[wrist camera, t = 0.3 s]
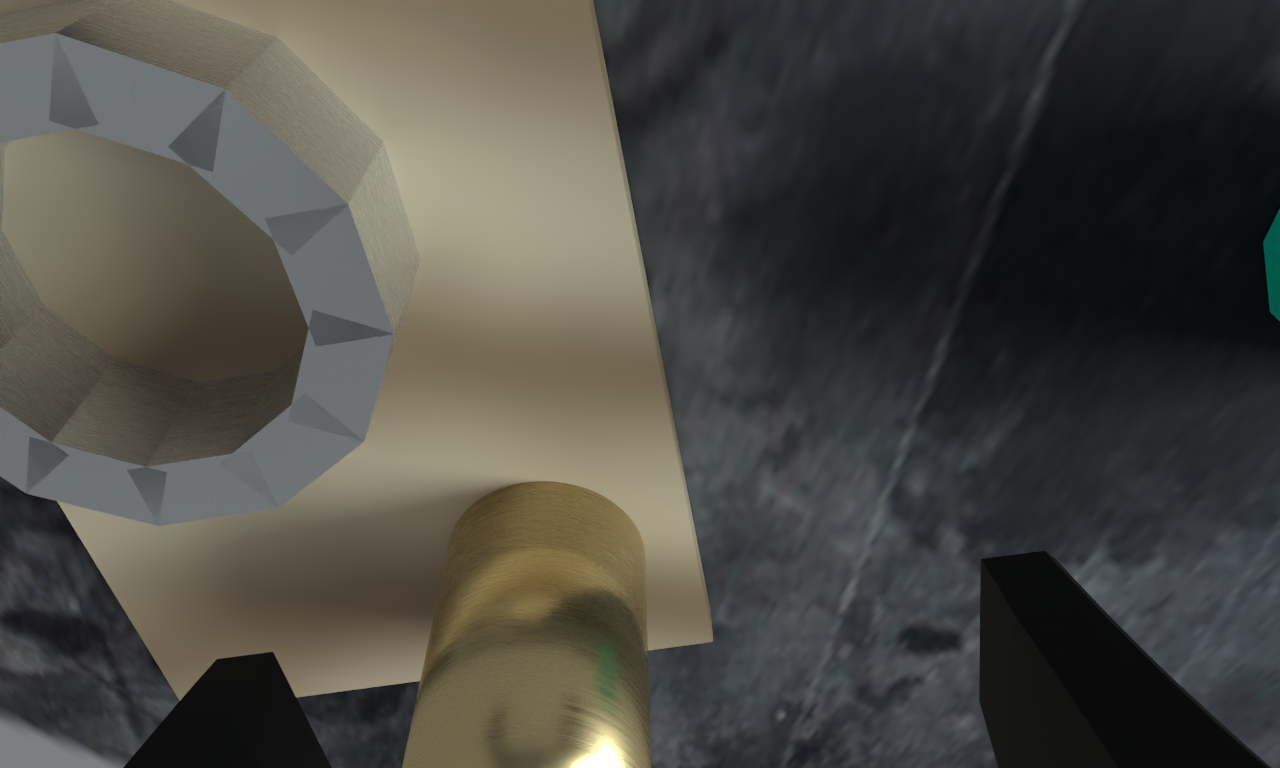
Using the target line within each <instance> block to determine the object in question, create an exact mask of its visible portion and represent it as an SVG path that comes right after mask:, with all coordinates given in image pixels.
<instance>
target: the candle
mask: <svg viewBox="0 0 1280 768" xmlns="http://www.w3.org/2000/svg"><path fill="white" fill-rule="evenodd" d="M1263 247H1264V257H1265V268H1266V278H1267V288H1268V298H1269V308H1270V313H1271V314H1272V315H1274V316H1275V317H1276V318H1277V319H1278V320H1279V321H1280V209H1279V211H1278V213H1277V215H1276V217H1275V219H1274V221H1273V223H1272V225H1271V227H1270V229H1269V231H1268V233H1267V235H1266V237H1265V239H1264V241H1263Z"/></svg>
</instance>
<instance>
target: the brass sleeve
mask: <svg viewBox="0 0 1280 768" xmlns="http://www.w3.org/2000/svg"><path fill="white" fill-rule="evenodd" d="M402 768H651V745H650V708H649V671H648V633H647V596H646V559H645V548H644V543H643V540H642V537H641V535H640V533H639V531H638V529H637V527H636V525H635V524H634V522H633V521H632V520H631V518H630V517H629V516H628V515H627V514H626V513H625V512H624V511H623V510H622V509H621V508H620V507H619V506H617V505H616V504H615V503H614V502H612V501H611V500H609V499H607V498H606V497H604V496H602V495H600V494H598V493H596V492H594V491H592V490H589V489H586V488H583V487H580V486H577V485H572V484H567V483H561V482H552V481H535V482H524V483H519V484H515V485H510V486H507V487H504V488H501V489H498V490H496V491H494V492H492V493H489V494H487V495H486V496H484V497H482V498H481V499H479V500H478V501H476V502H475V503H474V504H473V505H471V506H470V507H469V508H468V509H467V510H466V511H465V512H464V513H463V515H462V516H461V517H460V518H459V520H458V521H457V523H456V524H455V527H454V529H453V531H452V533H451V537H450V541H449V545H448V550H447V554H446V559H445V564H444V569H443V574H442V579H441V583H440V588H439V593H438V598H437V603H436V607H435V612H434V617H433V622H432V627H431V631H430V636H429V641H428V646H427V651H426V656H425V660H424V665H423V670H422V675H421V680H420V684H419V689H418V694H417V699H416V704H415V709H414V713H413V718H412V723H411V728H410V733H409V737H408V742H407V747H406V752H405V757H404V762H403V766H402Z"/></svg>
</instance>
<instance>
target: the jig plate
mask: <svg viewBox="0 0 1280 768" xmlns="http://www.w3.org/2000/svg"><path fill="white" fill-rule="evenodd" d="M63 1H68V0H0V14H1V13H7V12H12V11H17V10H22V9H27V8H32V7H37V6H43V5H48V4H53V3H58V2H63ZM171 1H173V2H176V3H179V4H182V5H185V6H188V7H191V8H194V9H197V10H200V11H203V12H206V13H208V14H211V15H214V16H217V17H220V18H223V19H226V20H229V21H232V22H235V23H238V24H240V25H243V26H246V27H249V28H252V29H255V30H258V31H261V32H264V33H267V34H270V35H272V36H275V37H279V38H280V39H281V40H282V41H283V42H284V43H285V44H286V45H287V46H288V47H289V48H290V49H291V50H292V51H293V52H294V53H295V54H296V55H297V56H298V57H299V58H300V59H301V60H302V61H303V62H304V63H305V64H306V65H307V66H308V67H309V68H310V69H311V70H312V71H313V72H314V73H315V74H316V75H317V76H318V77H319V78H320V79H321V80H322V81H323V82H324V83H325V84H326V85H327V86H328V87H329V88H330V89H331V90H332V91H333V92H334V93H335V94H336V95H337V96H338V97H339V98H340V99H341V100H342V101H343V102H344V103H345V104H346V105H347V106H348V107H349V108H350V109H351V110H352V111H353V112H354V113H355V114H356V115H357V116H358V117H359V118H360V119H361V120H362V121H364V122H365V123H366V124H367V125H368V126H369V127H370V128H371V129H372V130H373V131H374V132H375V133H376V134H377V135H378V136H379V137H380V138H381V139H382V140H383V142H384V145H385V148H386V151H387V154H388V157H389V161H390V164H391V167H392V170H393V173H394V176H395V179H396V182H397V185H398V189H399V192H400V195H401V198H402V201H403V204H404V207H405V210H406V214H407V217H408V220H409V223H410V226H411V229H412V232H413V235H414V239H415V242H416V245H417V248H418V251H419V254H420V257H421V261H420V265H419V268H418V272H417V276H416V279H415V283H414V286H413V290H412V294H411V297H410V301H409V304H408V308H407V312H406V315H405V319H404V322H403V326H402V330H401V333H400V337H399V340H398V344H397V348H396V351H395V355H394V358H393V362H392V365H391V367H390V370H389V373H388V376H387V379H386V382H385V384H384V387H383V390H382V393H381V396H380V399H379V401H378V404H377V407H376V410H375V413H374V416H373V418H372V421H371V424H370V427H369V430H368V433H367V435H366V438H365V441H364V442H363V443H362V444H360V445H359V446H358V447H357V448H355V449H354V450H353V451H351V452H350V453H349V454H348V455H346V456H345V457H344V458H342V459H341V460H340V461H339V462H337V463H336V464H335V465H333V466H332V467H331V468H330V469H328V470H327V471H326V472H324V473H323V474H322V475H321V476H319V477H318V478H317V479H315V480H314V481H313V482H312V483H310V484H309V485H308V486H306V487H305V488H304V489H303V490H301V491H300V492H299V493H297V494H296V495H295V496H294V497H292V498H291V499H290V500H288V501H287V502H286V503H285V504H283V505H282V506H281V507H279V508H277V509H270V510H263V511H257V512H250V513H243V514H237V515H230V516H223V517H217V518H210V519H203V520H196V521H190V522H183V523H176V524H170V525H163V526H156V525H152V524H148V523H144V522H140V521H136V520H132V519H127V518H123V517H119V516H115V515H111V514H107V513H103V512H99V511H95V510H91V509H87V508H83V507H79V506H75V505H71V504H67V503H63V502H59V501H57V502H58V504H59V505H60V507H61V508H62V510H63V512H64V513H65V515H66V517H67V518H68V520H69V521H70V523H71V525H72V526H73V528H74V530H75V531H76V533H77V534H78V536H79V538H80V539H81V541H82V543H83V544H84V546H85V547H86V549H87V551H88V552H89V554H90V556H91V557H92V559H93V560H94V562H95V564H96V565H97V567H98V569H99V570H100V572H101V573H102V575H103V577H104V578H105V580H106V582H107V583H108V585H109V586H110V588H111V590H112V591H113V593H114V595H115V596H116V598H117V599H118V601H119V603H120V604H121V606H122V608H123V609H124V611H125V612H126V614H127V616H128V617H129V619H130V621H131V622H132V624H133V625H134V627H135V629H136V630H137V632H138V634H139V635H140V637H141V638H142V640H143V642H144V643H145V645H146V647H147V648H148V650H149V651H150V653H151V655H152V656H153V658H154V660H155V661H156V663H157V664H158V666H159V668H160V669H161V671H162V673H163V674H164V676H165V677H166V679H167V681H168V682H169V684H170V686H171V687H172V689H173V691H174V692H175V694H176V695H177V697H178V699H179V700H181V699H182V698H183V697H184V696H185V694H186V693H187V692H188V691H189V690H190V689H191V687H192V686H193V685H194V684H195V683H196V682H197V681H198V679H199V678H200V677H201V676H202V675H203V674H204V673H205V672H206V671H207V669H208V668H209V667H210V666H211V665H212V664H213V663H214V662H215V661H216V659H221V658H229V657H236V656H244V655H252V654H259V653H267V652H273V653H274V655H275V657H276V659H277V661H278V663H279V665H280V667H281V669H282V671H283V673H284V675H285V677H286V678H287V680H288V682H289V684H290V686H291V688H292V690H293V692H294V694H295V696H296V697H303V696H310V695H318V694H325V693H333V692H340V691H348V690H355V689H363V688H370V687H378V686H385V685H393V684H400V683H408V682H415V681H420V680H421V675H422V670H423V665H424V660H425V656H426V651H427V646H428V641H429V636H430V631H431V627H432V622H433V617H434V612H435V607H436V603H437V598H438V593H439V588H440V583H441V579H442V574H443V569H444V564H445V559H446V554H447V550H448V545H449V541H450V537H451V533H452V531H453V529H454V527H455V524H456V523H457V521H458V520H459V518H460V517H461V516H462V515H463V513H464V512H465V511H466V510H467V509H468V508H469V507H470V506H471V505H473V504H474V503H475V502H476V501H478V500H479V499H481V498H482V497H484V496H486V495H487V494H489V493H492V492H494V491H496V490H498V489H501V488H504V487H507V486H510V485H515V484H519V483H524V482H535V481H552V482H561V483H567V484H572V485H577V486H580V487H583V488H586V489H589V490H592V491H594V492H596V493H598V494H600V495H602V496H604V497H606V498H607V499H609V500H611V501H612V502H614V503H615V504H616V505H617V506H619V507H620V508H621V509H622V510H623V511H624V512H625V513H626V514H627V515H628V516H629V517H630V518H631V520H632V521H633V522H634V524H635V525H636V527H637V529H638V531H639V533H640V535H641V537H642V540H643V543H644V548H645V559H646V596H647V633H648V650H655V649H663V648H670V647H678V646H685V645H693V644H700V643H708V642H713V634H712V624H711V613H710V606H709V600H708V595H707V590H706V585H705V580H704V574H703V569H702V564H701V559H700V554H699V548H698V543H697V538H696V533H695V528H694V523H693V517H692V512H691V507H690V502H689V497H688V491H687V486H686V481H685V476H684V471H683V465H682V460H681V455H680V450H679V445H678V439H677V434H676V429H675V424H674V419H673V413H672V408H671V403H670V398H669V393H668V388H667V382H666V377H665V372H664V367H663V362H662V356H661V351H660V346H659V341H658V336H657V330H656V325H655V320H654V315H653V310H652V304H651V299H650V294H649V289H648V284H647V278H646V273H645V268H644V263H643V258H642V253H641V247H640V242H639V237H638V232H637V227H636V221H635V216H634V211H633V206H632V201H631V195H630V190H629V185H628V180H627V175H626V169H625V164H624V159H623V154H622V149H621V144H620V138H619V133H618V128H617V123H616V118H615V112H614V107H613V102H612V97H611V92H610V86H609V81H608V76H607V71H606V66H605V60H604V55H603V50H602V45H601V40H600V34H599V29H598V24H597V19H596V14H595V9H594V3H593V0H171ZM2 230H3V232H4V233H5V235H6V237H7V239H8V241H9V243H10V244H11V246H12V248H13V250H14V252H15V253H16V255H17V257H18V259H19V261H20V262H21V264H22V266H23V268H24V270H25V272H26V273H27V275H28V277H29V279H30V281H31V282H32V284H33V286H34V288H35V290H36V291H37V293H38V295H39V297H40V299H41V301H42V302H43V304H44V305H45V306H46V307H47V308H49V309H50V310H51V311H53V312H54V313H55V314H57V315H58V316H59V317H61V318H62V319H63V320H64V321H66V322H67V323H68V324H70V325H71V326H72V327H74V328H75V329H76V330H78V331H79V332H80V333H82V334H83V335H84V336H86V337H87V338H88V339H89V340H91V341H92V342H93V343H95V344H96V345H97V346H99V347H100V348H101V349H103V350H104V351H105V352H107V353H108V354H109V355H110V356H112V357H113V358H114V359H116V360H119V361H123V362H127V363H130V364H134V365H137V366H141V367H145V368H148V369H152V370H156V371H159V372H163V373H167V374H170V375H174V376H177V377H181V378H185V379H188V380H192V381H196V382H205V381H211V380H218V379H224V378H230V377H236V376H242V375H249V374H255V373H261V372H267V371H274V370H277V369H278V368H279V367H280V366H281V365H283V364H284V363H285V362H286V361H287V360H288V359H290V358H291V357H292V356H293V355H294V354H295V353H297V352H298V351H299V350H300V349H301V348H303V347H304V346H305V342H306V338H307V333H308V329H309V328H308V325H307V323H306V320H305V318H304V315H303V313H302V310H301V308H300V305H299V303H298V300H297V298H296V295H295V293H294V290H293V288H292V285H291V283H290V280H289V278H288V275H287V273H286V270H285V268H284V265H283V263H282V260H281V258H280V255H279V253H278V250H277V248H276V245H275V243H274V240H273V239H272V238H271V237H270V236H269V235H267V234H266V233H265V232H264V231H263V230H262V229H261V228H259V227H258V226H257V225H256V224H255V223H254V222H253V221H252V220H250V219H249V218H248V217H247V216H246V215H245V214H244V213H242V212H241V211H240V210H239V209H238V208H237V207H236V206H235V205H233V204H232V203H231V202H230V201H229V200H228V199H227V198H225V197H224V196H223V195H222V194H221V193H220V192H219V191H218V190H216V189H215V188H214V187H213V186H212V185H211V184H210V183H208V182H207V181H206V180H205V179H204V178H203V177H202V176H201V175H199V174H198V173H197V172H196V171H195V170H194V169H193V168H191V167H190V166H189V165H188V164H185V163H182V162H179V161H175V160H172V159H169V158H166V157H163V156H160V155H156V154H153V153H150V152H147V151H144V150H140V149H137V148H134V147H131V146H128V145H125V144H121V143H118V142H115V141H112V140H109V139H106V138H102V137H99V136H96V135H93V134H90V133H86V132H83V131H80V130H77V129H73V130H67V131H62V132H56V133H51V134H45V135H40V136H35V137H29V138H24V139H18V140H13V141H12V142H11V143H10V144H9V145H8V146H7V147H6V148H5V161H4V186H3V211H2Z"/></svg>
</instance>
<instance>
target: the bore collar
mask: <svg viewBox="0 0 1280 768" xmlns="http://www.w3.org/2000/svg"><path fill="white" fill-rule="evenodd" d="M73 129H77V130H80V131H83V132H86V133H90V134H93V135H96V136H99V137H102V138H106V139H109V140H112V141H115V142H118V143H121V144H125V145H128V146H131V147H134V148H137V149H140V150H144V151H147V152H150V153H153V154H156V155H160V156H163V157H166V158H169V159H172V160H175V161H179V162H182V163H185V164H188V165H189V166H190V167H191V168H193V169H194V170H195V171H196V172H197V173H198V174H199V175H201V176H202V177H203V178H204V179H205V180H206V181H207V182H208V183H210V184H211V185H212V186H213V187H214V188H215V189H216V190H218V191H219V192H220V193H221V194H222V195H223V196H224V197H225V198H227V199H228V200H229V201H230V202H231V203H232V204H233V205H235V206H236V207H237V208H238V209H239V210H240V211H241V212H242V213H244V214H245V215H246V216H247V217H248V218H249V219H250V220H252V221H253V222H254V223H255V224H256V225H257V226H258V227H259V228H261V229H262V230H263V231H264V232H265V233H266V234H267V235H269V236H270V237H271V238H272V239H273V240H274V243H275V245H276V248H277V250H278V253H279V255H280V258H281V260H282V263H283V265H284V268H285V270H286V273H287V275H288V278H289V280H290V283H291V285H292V288H293V290H294V293H295V295H296V298H297V300H298V303H299V305H300V308H301V310H302V313H303V315H304V318H305V320H306V323H307V325H308V328H309V329H308V333H307V338H306V342H305V346H304V347H303V348H301V349H300V350H299V351H298V352H297V353H295V354H294V355H293V356H292V357H291V358H290V359H288V360H287V361H286V362H285V363H284V364H283V365H281V366H280V367H279V368H278V369H277V370H274V371H267V372H261V373H255V374H249V375H242V376H236V377H230V378H224V379H218V380H211V381H205V382H196V381H192V380H188V379H185V378H181V377H177V376H174V375H170V374H167V373H163V372H159V371H156V370H152V369H148V368H145V367H141V366H137V365H134V364H130V363H127V362H123V361H119V360H116V359H114V358H113V357H112V356H110V355H109V354H108V353H107V352H105V351H104V350H103V349H101V348H100V347H99V346H97V345H96V344H95V343H93V342H92V341H91V340H89V339H88V338H87V337H86V336H84V335H83V334H82V333H80V332H79V331H78V330H76V329H75V328H74V327H72V326H71V325H70V324H68V323H67V322H66V321H64V320H63V319H62V318H61V317H59V316H58V315H57V314H55V313H54V312H53V311H51V310H50V309H49V308H47V307H46V306H45V305H44V304H43V302H42V301H41V299H40V297H39V295H38V293H37V291H36V290H35V288H34V286H33V284H32V282H31V281H30V279H29V277H28V275H27V273H26V272H25V270H24V268H23V266H22V264H21V262H20V261H19V259H18V257H17V255H16V253H15V252H14V250H13V248H12V246H11V244H10V243H9V241H8V239H7V237H6V235H5V233H4V232H3V230H2V211H3V186H4V161H5V148H6V147H7V146H8V145H9V144H10V143H11V142H12V141H13V140H18V139H24V138H29V137H35V136H40V135H45V134H51V133H56V132H62V131H67V130H73ZM420 261H421V257H420V254H419V251H418V248H417V245H416V242H415V239H414V235H413V232H412V229H411V226H410V223H409V220H408V217H407V214H406V210H405V207H404V204H403V201H402V198H401V195H400V192H399V189H398V185H397V182H396V179H395V176H394V173H393V170H392V167H391V164H390V161H389V157H388V154H387V151H386V148H385V145H384V142H383V140H382V139H381V138H380V137H379V136H378V135H377V134H376V133H375V132H374V131H373V130H372V129H371V128H370V127H369V126H368V125H367V124H366V123H365V122H364V121H362V120H361V119H360V118H359V117H358V116H357V115H356V114H355V113H354V112H353V111H352V110H351V109H350V108H349V107H348V106H347V105H346V104H345V103H344V102H343V101H342V100H341V99H340V98H339V97H338V96H337V95H336V94H335V93H334V92H333V91H332V90H331V89H330V88H329V87H328V86H327V85H326V84H325V83H324V82H323V81H322V80H321V79H320V78H319V77H318V76H317V75H316V74H315V73H314V72H313V71H312V70H311V69H310V68H309V67H308V66H307V65H306V64H305V63H304V62H303V61H302V60H301V59H300V58H299V57H298V56H297V55H296V54H295V53H294V52H293V51H292V50H291V49H290V48H289V47H288V46H287V45H286V44H285V43H284V42H283V41H282V40H281V39H280V38H279V37H275V36H272V35H270V34H267V33H264V32H261V31H258V30H255V29H252V28H249V27H246V26H243V25H240V24H238V23H235V22H232V21H229V20H226V19H223V18H220V17H217V16H214V15H211V14H208V13H206V12H203V11H200V10H197V9H194V8H191V7H188V6H185V5H182V4H179V3H176V2H173V1H171V0H68V1H63V2H58V3H53V4H48V5H43V6H37V7H32V8H27V9H22V10H17V11H12V12H7V13H1V14H0V476H1V477H2V478H4V479H5V480H7V481H8V482H10V483H11V484H13V485H14V486H16V487H17V488H19V489H20V490H22V491H23V492H25V493H26V494H30V495H34V496H38V497H42V498H46V499H51V500H55V501H59V502H63V503H67V504H71V505H75V506H79V507H83V508H87V509H91V510H95V511H99V512H103V513H107V514H111V515H115V516H119V517H123V518H127V519H132V520H136V521H140V522H144V523H148V524H152V525H156V526H163V525H170V524H176V523H183V522H190V521H196V520H203V519H210V518H217V517H223V516H230V515H237V514H243V513H250V512H257V511H263V510H270V509H277V508H279V507H281V506H282V505H283V504H285V503H286V502H287V501H288V500H290V499H291V498H292V497H294V496H295V495H296V494H297V493H299V492H300V491H301V490H303V489H304V488H305V487H306V486H308V485H309V484H310V483H312V482H313V481H314V480H315V479H317V478H318V477H319V476H321V475H322V474H323V473H324V472H326V471H327V470H328V469H330V468H331V467H332V466H333V465H335V464H336V463H337V462H339V461H340V460H341V459H342V458H344V457H345V456H346V455H348V454H349V453H350V452H351V451H353V450H354V449H355V448H357V447H358V446H359V445H360V444H362V443H363V442H364V441H365V438H366V435H367V433H368V430H369V427H370V424H371V421H372V418H373V416H374V413H375V410H376V407H377V404H378V401H379V399H380V396H381V393H382V390H383V387H384V384H385V382H386V379H387V376H388V373H389V370H390V367H391V365H392V362H393V358H394V355H395V351H396V348H397V344H398V340H399V337H400V333H401V330H402V326H403V322H404V319H405V315H406V312H407V308H408V304H409V301H410V297H411V294H412V290H413V286H414V283H415V279H416V276H417V272H418V268H419V265H420Z"/></svg>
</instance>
